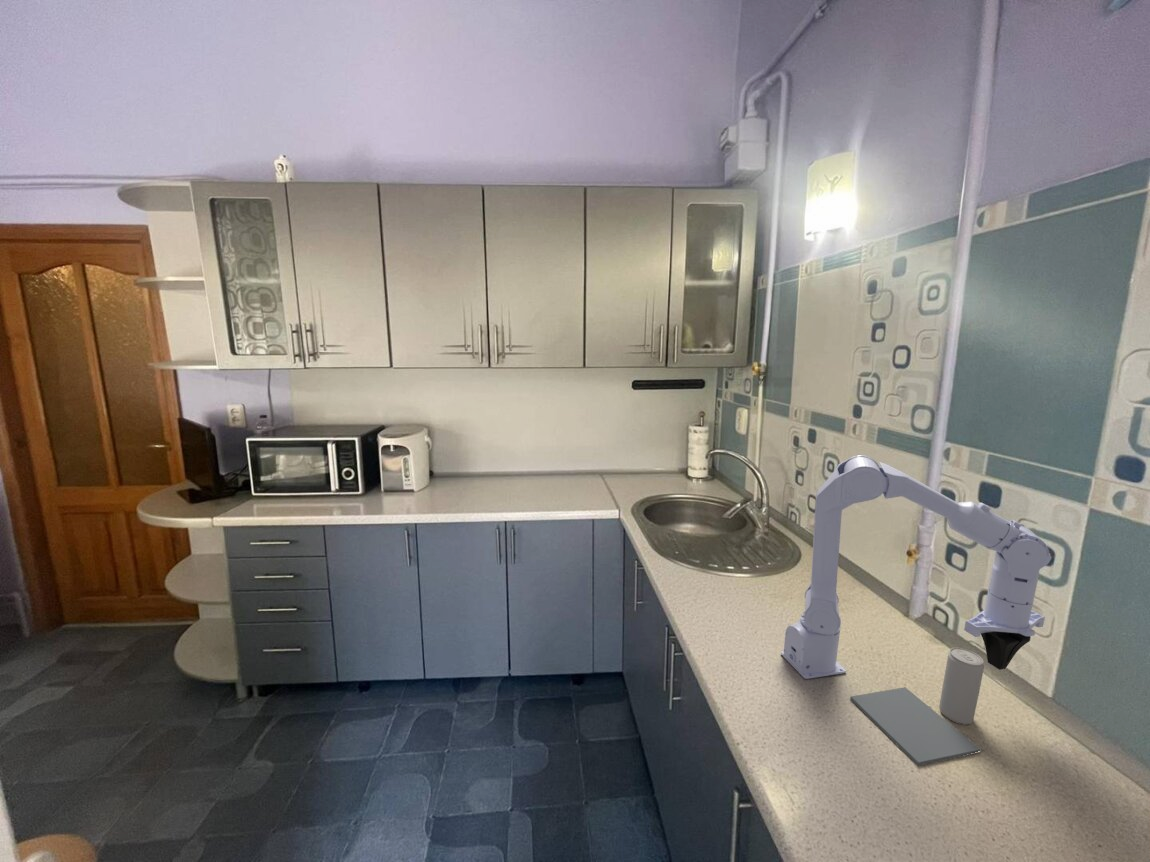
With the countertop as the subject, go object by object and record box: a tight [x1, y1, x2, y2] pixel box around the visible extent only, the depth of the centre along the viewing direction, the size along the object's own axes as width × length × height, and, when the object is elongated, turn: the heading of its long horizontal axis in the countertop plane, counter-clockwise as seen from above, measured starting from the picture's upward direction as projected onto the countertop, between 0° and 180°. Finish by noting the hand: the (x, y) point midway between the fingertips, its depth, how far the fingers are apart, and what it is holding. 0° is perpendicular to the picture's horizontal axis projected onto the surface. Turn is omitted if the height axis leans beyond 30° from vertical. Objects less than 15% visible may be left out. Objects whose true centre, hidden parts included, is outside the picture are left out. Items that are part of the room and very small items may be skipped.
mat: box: [850, 686, 982, 766], centre depth 81 cm, size 12×14×1 cm
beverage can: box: [938, 647, 985, 725], centre depth 82 cm, size 5×5×12 cm
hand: (996, 665), depth 83 cm, fingers closed
